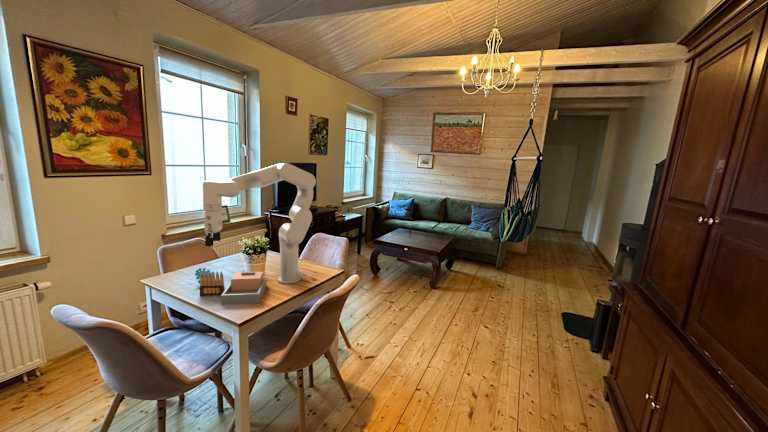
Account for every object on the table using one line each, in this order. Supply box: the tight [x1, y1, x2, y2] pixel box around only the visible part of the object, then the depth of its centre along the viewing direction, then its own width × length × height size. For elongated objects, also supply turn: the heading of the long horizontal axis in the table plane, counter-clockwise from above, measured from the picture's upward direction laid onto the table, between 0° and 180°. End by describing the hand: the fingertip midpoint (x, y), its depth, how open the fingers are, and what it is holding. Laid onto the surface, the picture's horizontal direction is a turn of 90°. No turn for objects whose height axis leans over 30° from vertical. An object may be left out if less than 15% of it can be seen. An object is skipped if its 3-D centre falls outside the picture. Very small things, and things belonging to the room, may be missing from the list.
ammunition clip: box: [199, 270, 226, 297], centre depth 146 cm, size 11×2×12 cm, turn 99°
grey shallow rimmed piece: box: [220, 276, 267, 306], centre depth 148 cm, size 20×16×4 cm
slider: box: [230, 270, 264, 291], centre depth 153 cm, size 9×13×7 cm
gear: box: [194, 267, 212, 283], centre depth 160 cm, size 11×6×10 cm
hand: (213, 243), depth 144 cm, fingers open, 9 cm apart
